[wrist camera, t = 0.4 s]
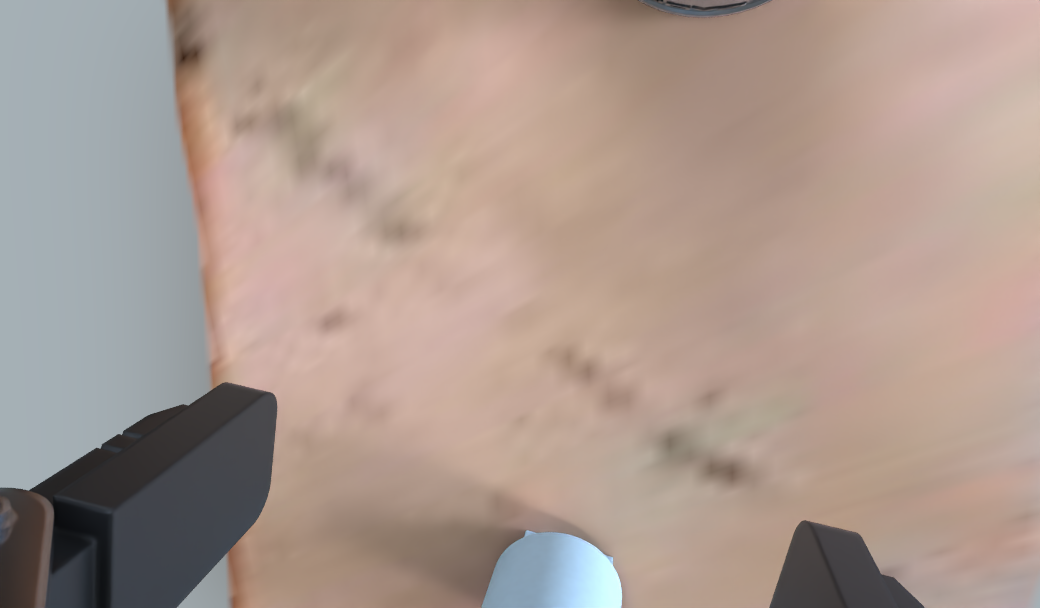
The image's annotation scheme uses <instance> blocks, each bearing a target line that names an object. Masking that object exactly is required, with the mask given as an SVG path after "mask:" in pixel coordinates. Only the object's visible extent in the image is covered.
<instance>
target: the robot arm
mask: <svg viewBox="0 0 1040 608" xmlns="http://www.w3.org/2000/svg"><path fill="white" fill-rule="evenodd" d="M638 1H640V2H642V3H644V4H646V5H648V6H650V7H652V8H655V9H657V10H660V11H663V12H667V13H670V14H674V15H679V16H685V17H697V18H707V17H720V16H728V15H732V14H736V13H741V12H744V11H747V10H750V9H753V8H756V7H758V6H761V5H763V4H765V3H767V2H770V1H771V0H638ZM276 418H277V401H276V397H275V395H274V394H273V393H270V392H266V391H262V390H258V389H253V388H249V387H245V386H241V385H236V384H232V383H227V382H225V383H222V384H220V385H219V386H217V387H216V388H214V389H213V390H211V391H210V392H208V393H207V394H205V395H204V396H202V397H201V398H199V399H198V400H196V401H195V402H193V403H192V404H190V405H189V406H187V405H179V406H176V407H173V408H170V409H167V410H163V411H160V412H157V413H154V414H150V415H148V416H146V417H145V418H143V419H142V420H140V421H139V422H137V423H135V424H134V425H132V426H131V427H129V428H127V429H126V430H124V431H123V434H122V435H120V434H118V435H116V436H115V437H113V438H112V439H110V440H108V441H107V442H105V443H104V444H102V447H101V449H99V448H96V449H94V450H92V451H91V452H89V453H88V454H86V455H84V456H83V457H81V458H80V459H78V460H77V461H75V462H73V463H72V464H70V465H69V466H67V467H66V468H64V469H62V470H61V471H59V472H57V473H56V474H54V475H53V476H51V477H50V478H48V479H47V480H45V481H43V482H42V483H40V484H38V485H37V486H36V487H34V488H32V489H30V490H29V491H28V490H23V489H16V488H0V608H177V606H178V605H179V604H180V603H181V602H182V601H183V600H184V599H185V598H186V597H187V596H188V595H189V593H190V592H191V591H192V590H193V589H194V588H195V587H196V586H197V585H198V584H199V583H200V582H201V580H202V579H203V578H204V577H205V576H206V575H207V574H208V573H209V572H210V571H211V570H212V568H213V567H214V566H215V565H216V564H217V563H218V562H219V561H220V560H221V559H222V558H223V557H224V555H225V554H226V553H227V552H228V551H229V550H230V549H231V548H232V547H233V546H234V545H235V544H236V542H237V541H238V540H239V539H240V538H241V537H242V536H243V535H244V534H245V533H246V532H247V531H248V529H249V528H250V527H251V526H252V525H253V524H254V523H255V521H256V520H257V519H258V517H259V515H260V513H261V512H262V509H263V507H264V505H265V502H266V500H267V497H268V493H269V489H270V483H271V473H272V462H273V451H274V440H275V429H276ZM770 608H924V606H923V605H922V604H921V603H920V602H919V601H918V600H917V599H916V598H915V597H913V596H912V595H911V594H910V593H909V592H908V591H907V590H906V589H905V588H904V587H903V586H902V585H901V584H900V583H899V582H898V581H897V580H896V579H895V578H893V577H889V576H885V575H881V573H880V571H879V569H878V567H877V566H876V564H875V562H874V560H873V558H872V556H871V554H870V552H869V550H868V548H867V546H866V545H865V543H864V541H863V539H862V537H861V536H860V535H859V534H858V533H856V532H852V531H848V530H843V529H839V528H835V527H831V526H826V525H822V524H818V523H814V522H810V521H802V522H801V523H800V524H799V525H798V526H797V528H796V530H795V532H794V535H793V538H792V541H791V544H790V547H789V550H788V553H787V556H786V559H785V562H784V565H783V568H782V571H781V574H780V577H779V580H778V583H777V586H776V589H775V592H774V595H773V598H772V601H771V604H770Z"/></svg>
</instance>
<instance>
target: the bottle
mask: <svg viewBox="0 0 1040 608" xmlns="http://www.w3.org/2000/svg"><path fill="white" fill-rule="evenodd" d="M612 564H613V558H612V557H610V556H607V555H604V554H603V553H602V552H601V551H600V550H598V549H597V548H596V547H594V546H593V545H592V544H590V543H588V542H586V541H585V540H583V539H580V538H578V537H575V536H572V535H569V534H565V533H558V532H542V533H535V532H532V531H528V530H526V532H525V535H524V537H523V538H521V539H519V540H517V541H516V542H514V543H513V544H511V545H510V546H509V547H508V548H507V549H506V550H505V551H504V552H503V553H502V555H501V556H500V558H499V559H498V561H497V563H496V566H495V569H494V572H493V575H492V578H491V580H490V583H489V586H488V589H487V592H486V595H485V598H484V601H483V604H482V607H481V608H621V602H622V589H621V584H620V580H619V577H618V574H617V572H616V570H615V569H614V567H613V565H612Z"/></svg>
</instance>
